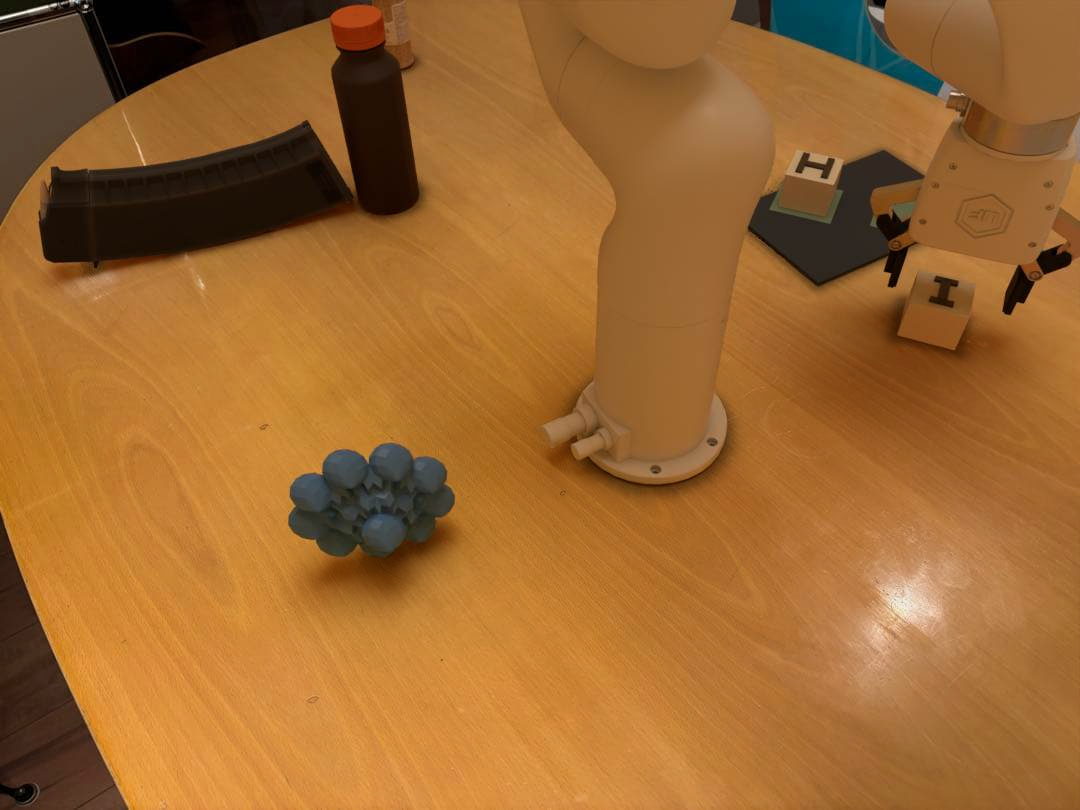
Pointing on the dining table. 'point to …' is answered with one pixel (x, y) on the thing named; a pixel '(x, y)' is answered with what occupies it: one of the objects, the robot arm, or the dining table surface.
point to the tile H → (810, 183)
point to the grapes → (370, 501)
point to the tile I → (937, 309)
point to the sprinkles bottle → (396, 29)
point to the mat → (835, 221)
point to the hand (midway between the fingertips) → (949, 291)
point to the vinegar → (373, 111)
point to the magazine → (188, 200)
